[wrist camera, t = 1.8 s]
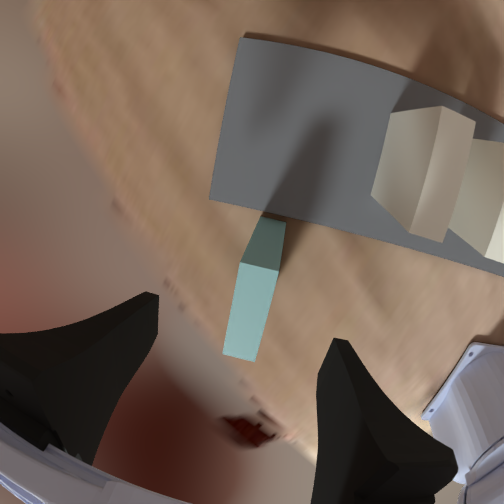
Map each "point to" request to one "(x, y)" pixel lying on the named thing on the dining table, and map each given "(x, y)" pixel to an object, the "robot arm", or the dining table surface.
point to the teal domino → (254, 289)
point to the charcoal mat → (324, 142)
